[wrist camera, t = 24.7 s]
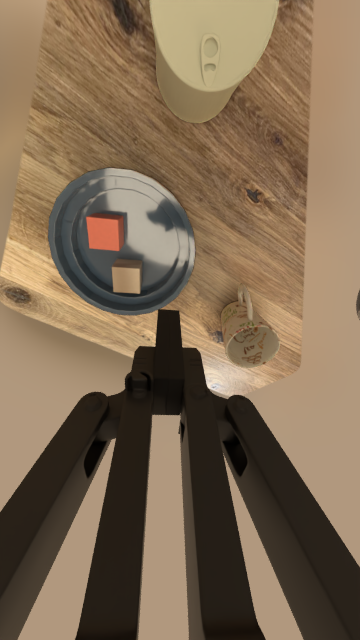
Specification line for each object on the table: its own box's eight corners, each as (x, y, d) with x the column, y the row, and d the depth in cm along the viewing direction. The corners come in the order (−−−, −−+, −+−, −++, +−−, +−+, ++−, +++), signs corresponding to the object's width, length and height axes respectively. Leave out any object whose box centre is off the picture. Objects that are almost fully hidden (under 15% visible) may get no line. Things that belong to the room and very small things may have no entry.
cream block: (142, 260, 36) (139, 268, 32) (142, 283, 38) (139, 293, 35) (116, 258, 36) (111, 266, 32) (118, 282, 38) (113, 292, 34)
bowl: (200, 178, 31) (205, 177, 27) (185, 304, 41) (187, 318, 37) (51, 161, 29) (31, 158, 25) (74, 297, 39) (62, 311, 35)
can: (156, 121, 28) (150, 87, 17) (154, 1, 23) (144, -145, 12) (230, 125, 28) (266, 94, 18) (244, 8, 23) (304, -126, 13)
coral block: (123, 215, 32) (118, 219, 29) (124, 244, 34) (119, 251, 31) (94, 212, 32) (85, 216, 29) (97, 241, 34) (89, 248, 31)
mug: (216, 336, 45) (228, 372, 37) (208, 278, 39) (220, 306, 30) (258, 328, 45) (279, 363, 36) (257, 268, 38) (282, 294, 30)
